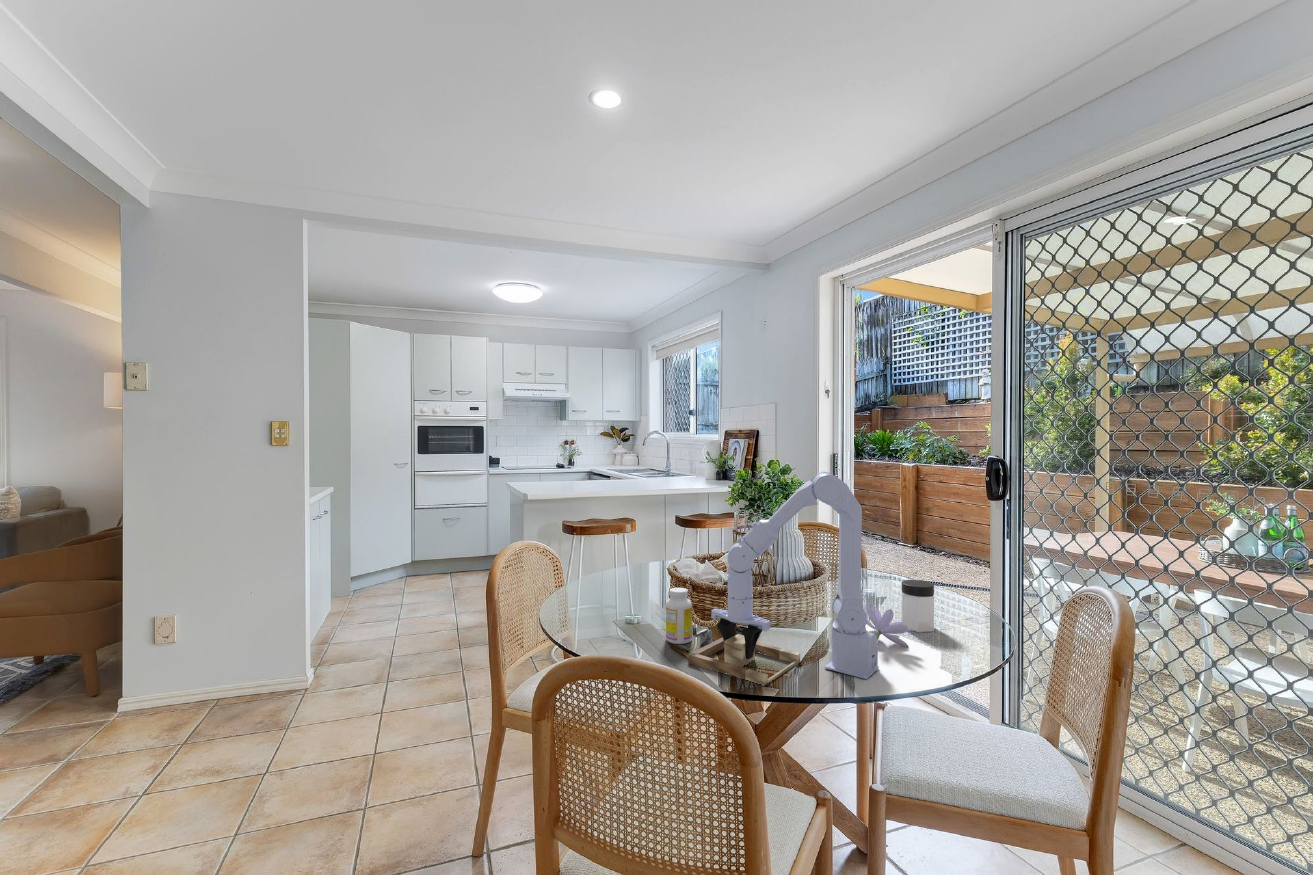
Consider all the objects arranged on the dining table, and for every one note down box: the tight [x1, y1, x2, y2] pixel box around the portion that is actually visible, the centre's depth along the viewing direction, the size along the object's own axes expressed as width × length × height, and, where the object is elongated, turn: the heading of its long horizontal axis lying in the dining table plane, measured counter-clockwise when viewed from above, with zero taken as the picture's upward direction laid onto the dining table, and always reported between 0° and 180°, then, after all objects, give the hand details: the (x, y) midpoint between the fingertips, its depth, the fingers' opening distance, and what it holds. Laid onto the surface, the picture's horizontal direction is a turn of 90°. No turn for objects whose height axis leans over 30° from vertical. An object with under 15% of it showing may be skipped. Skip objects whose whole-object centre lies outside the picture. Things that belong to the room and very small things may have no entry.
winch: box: [692, 626, 713, 647], centre depth 148 cm, size 7×3×5 cm, turn 141°
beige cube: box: [723, 633, 756, 667], centre depth 139 cm, size 5×6×5 cm
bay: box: [687, 636, 801, 685], centre depth 138 cm, size 20×17×2 cm
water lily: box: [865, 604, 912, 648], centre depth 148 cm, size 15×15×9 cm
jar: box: [900, 579, 935, 633], centre depth 163 cm, size 9×8×12 cm
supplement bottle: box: [665, 587, 693, 645], centre depth 152 cm, size 7×7×13 cm
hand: (739, 654), depth 139 cm, fingers closed on beige cube, 4 cm apart
